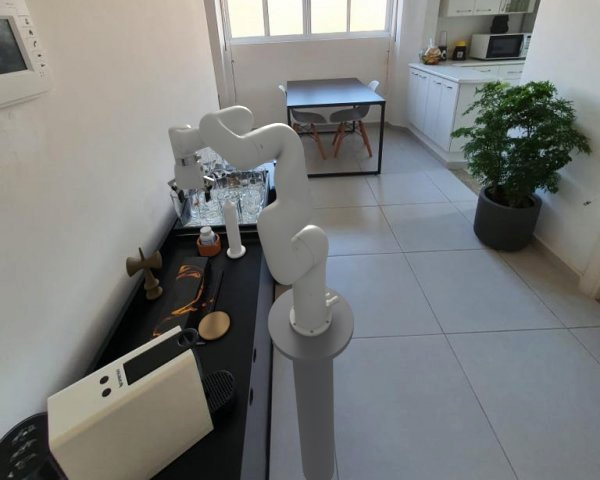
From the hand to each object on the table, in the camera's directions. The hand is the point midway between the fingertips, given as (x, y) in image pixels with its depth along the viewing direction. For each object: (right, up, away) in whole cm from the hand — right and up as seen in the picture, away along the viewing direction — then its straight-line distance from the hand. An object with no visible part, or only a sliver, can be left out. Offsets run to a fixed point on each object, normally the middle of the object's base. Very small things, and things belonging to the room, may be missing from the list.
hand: (195, 200), depth 116 cm
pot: (+3, -20, +8) cm, 22 cm away
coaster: (+14, -34, -24) cm, 44 cm away
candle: (+14, -21, +5) cm, 26 cm away
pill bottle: (+3, -20, +8) cm, 22 cm away
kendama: (-9, -30, -12) cm, 34 cm away
